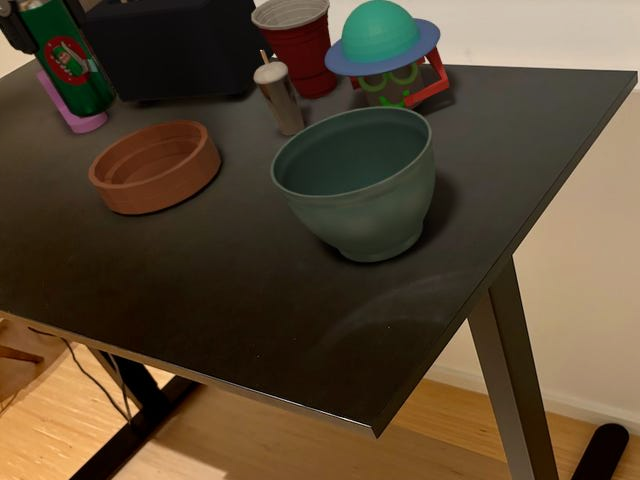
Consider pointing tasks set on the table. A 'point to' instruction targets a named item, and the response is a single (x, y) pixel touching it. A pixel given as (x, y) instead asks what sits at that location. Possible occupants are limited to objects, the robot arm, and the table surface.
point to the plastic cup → (299, 41)
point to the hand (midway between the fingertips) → (54, 38)
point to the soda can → (65, 56)
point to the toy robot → (387, 54)
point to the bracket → (72, 120)
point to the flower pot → (360, 180)
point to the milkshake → (279, 95)
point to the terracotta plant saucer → (155, 167)
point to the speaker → (176, 47)
